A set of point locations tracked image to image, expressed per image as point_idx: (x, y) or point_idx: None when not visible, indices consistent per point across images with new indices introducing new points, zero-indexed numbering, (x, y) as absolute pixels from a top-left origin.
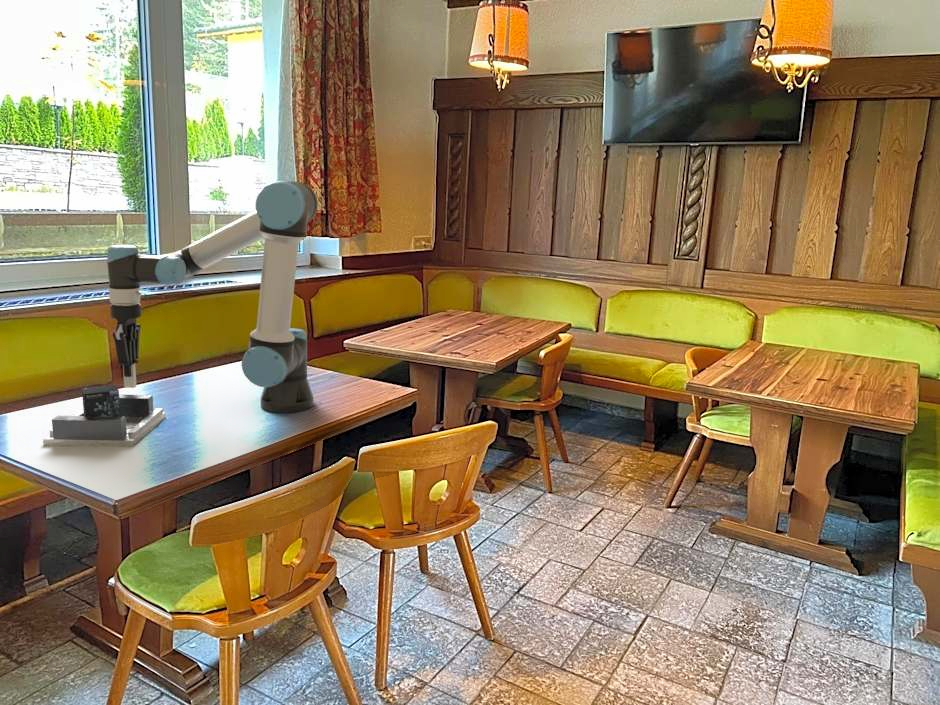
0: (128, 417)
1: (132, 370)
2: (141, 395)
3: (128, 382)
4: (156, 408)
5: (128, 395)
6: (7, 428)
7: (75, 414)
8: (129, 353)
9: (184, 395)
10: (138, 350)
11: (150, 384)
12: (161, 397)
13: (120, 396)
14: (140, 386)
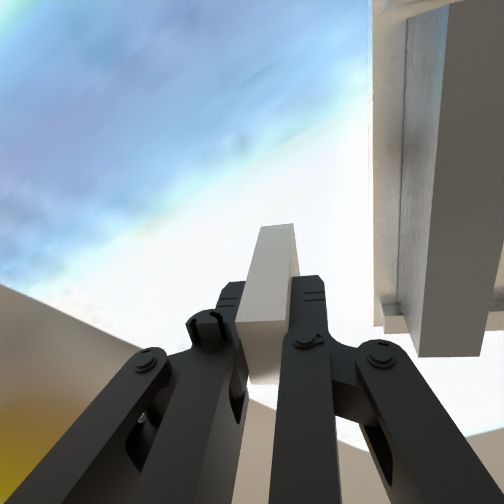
0: None
1: (288, 293)
2: (454, 94)
3: (296, 268)
4: (396, 4)
5: (452, 181)
6: (498, 428)
7: (491, 327)
8: (336, 456)
9: (22, 83)
10: (86, 418)
11: (3, 279)
12: (96, 170)
13: (474, 216)
14: (38, 297)
